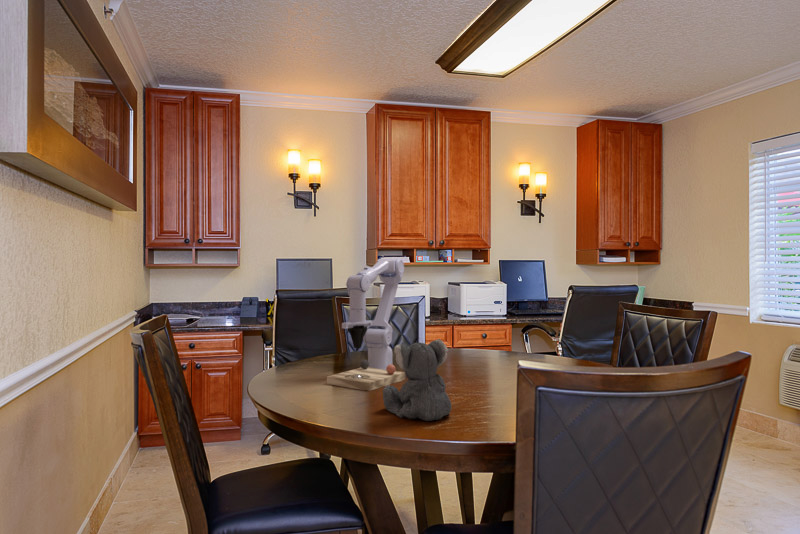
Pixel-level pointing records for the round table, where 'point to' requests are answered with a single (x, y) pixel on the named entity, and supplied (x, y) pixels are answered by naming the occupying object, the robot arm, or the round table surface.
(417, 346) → the koala plush
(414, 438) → the round table surface
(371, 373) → the plate
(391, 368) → the brick-red wooden ball
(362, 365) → the black rubber ball
